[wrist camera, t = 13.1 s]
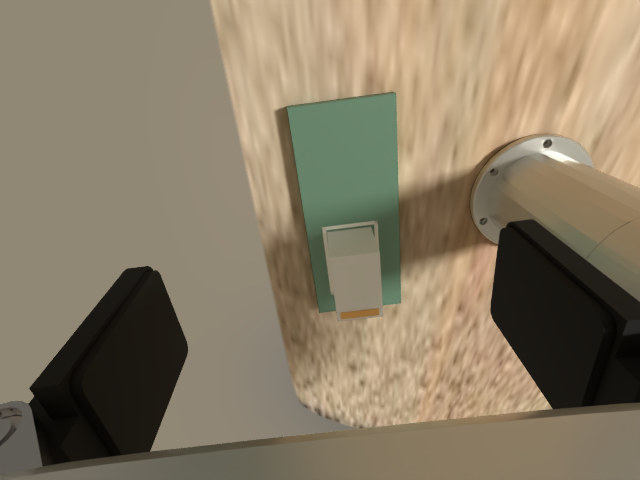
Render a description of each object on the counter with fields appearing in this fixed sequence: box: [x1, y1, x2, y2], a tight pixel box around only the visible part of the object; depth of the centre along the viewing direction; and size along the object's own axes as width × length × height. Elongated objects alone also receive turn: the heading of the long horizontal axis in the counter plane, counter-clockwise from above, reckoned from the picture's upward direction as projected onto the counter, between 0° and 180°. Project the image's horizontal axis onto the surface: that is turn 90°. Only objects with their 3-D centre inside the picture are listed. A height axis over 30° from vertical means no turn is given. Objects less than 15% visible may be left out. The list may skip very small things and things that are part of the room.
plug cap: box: [327, 227, 383, 321], centre depth 39 cm, size 8×5×6 cm, turn 7°
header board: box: [287, 92, 401, 313], centre depth 40 cm, size 24×10×1 cm, turn 7°
